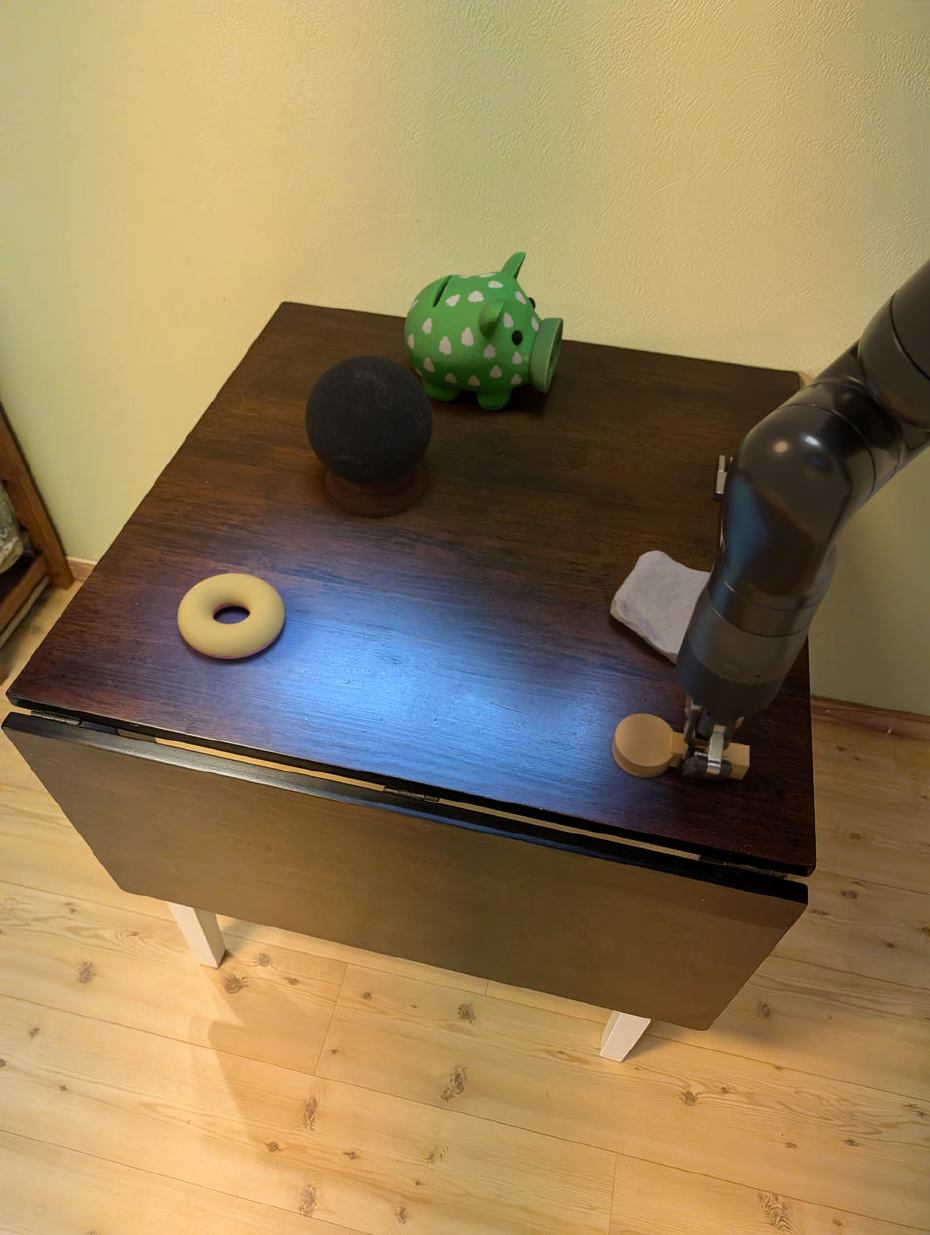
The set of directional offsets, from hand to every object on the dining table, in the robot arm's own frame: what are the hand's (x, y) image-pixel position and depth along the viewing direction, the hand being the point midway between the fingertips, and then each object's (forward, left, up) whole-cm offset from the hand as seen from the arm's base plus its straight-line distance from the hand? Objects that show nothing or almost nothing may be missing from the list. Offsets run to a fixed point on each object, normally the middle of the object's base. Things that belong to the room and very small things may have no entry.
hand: (688, 759), depth 72 cm
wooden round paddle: (0, 0, 0) cm, 1 cm away
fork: (+19, -27, 0) cm, 33 cm away
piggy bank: (+52, -18, 0) cm, 55 cm away
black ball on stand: (+45, +2, 0) cm, 45 cm away
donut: (+36, +24, 0) cm, 44 cm away
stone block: (+11, -10, 0) cm, 15 cm away
